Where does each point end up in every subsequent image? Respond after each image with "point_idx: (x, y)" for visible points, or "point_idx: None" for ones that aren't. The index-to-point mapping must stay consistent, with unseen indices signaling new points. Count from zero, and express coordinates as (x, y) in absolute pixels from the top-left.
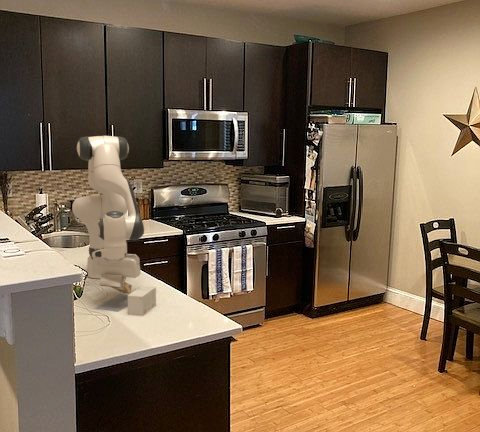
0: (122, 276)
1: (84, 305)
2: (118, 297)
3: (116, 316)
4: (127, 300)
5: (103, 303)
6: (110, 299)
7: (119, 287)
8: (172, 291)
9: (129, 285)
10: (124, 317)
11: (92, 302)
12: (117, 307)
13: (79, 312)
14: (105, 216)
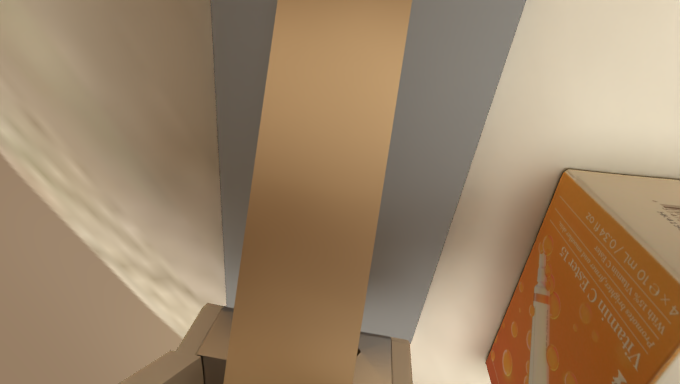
0: None
1: (117, 234)
2: (262, 24)
3: (417, 371)
4: (397, 108)
5: (229, 217)
6: (222, 109)
7: None
8: None
9: (404, 40)
10: (470, 381)
11: (117, 167)
12: (375, 280)
13: (182, 335)
14: None
